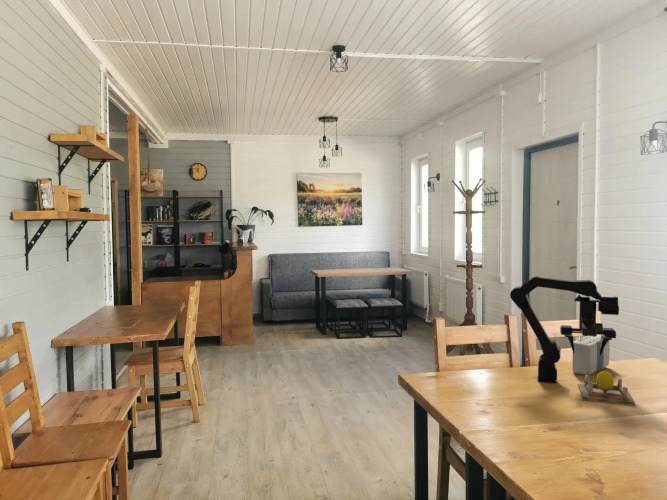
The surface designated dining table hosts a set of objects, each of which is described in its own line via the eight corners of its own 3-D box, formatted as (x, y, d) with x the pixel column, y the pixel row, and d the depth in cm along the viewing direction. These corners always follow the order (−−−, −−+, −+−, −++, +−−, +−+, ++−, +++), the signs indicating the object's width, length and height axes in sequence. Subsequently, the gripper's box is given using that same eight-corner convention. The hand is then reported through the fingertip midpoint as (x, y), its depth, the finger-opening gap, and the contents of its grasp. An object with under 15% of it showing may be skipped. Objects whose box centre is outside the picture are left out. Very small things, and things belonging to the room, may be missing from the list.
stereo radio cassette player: (589, 377, 204) (590, 328, 203) (569, 373, 210) (570, 325, 209) (610, 368, 218) (611, 321, 217) (590, 364, 224) (591, 319, 223)
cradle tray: (582, 399, 178) (583, 385, 178) (578, 386, 193) (578, 373, 193) (635, 405, 173) (635, 390, 172) (626, 391, 188) (626, 377, 187)
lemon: (610, 389, 185) (610, 368, 185) (616, 395, 180) (616, 372, 179) (593, 389, 186) (594, 368, 186) (599, 394, 181) (599, 372, 180)
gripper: (562, 315, 189) (561, 356, 190) (619, 318, 183) (618, 361, 184) (560, 310, 200) (559, 350, 200) (614, 313, 193) (613, 354, 194)
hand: (586, 353), depth 194 cm, fingers open, 9 cm apart
